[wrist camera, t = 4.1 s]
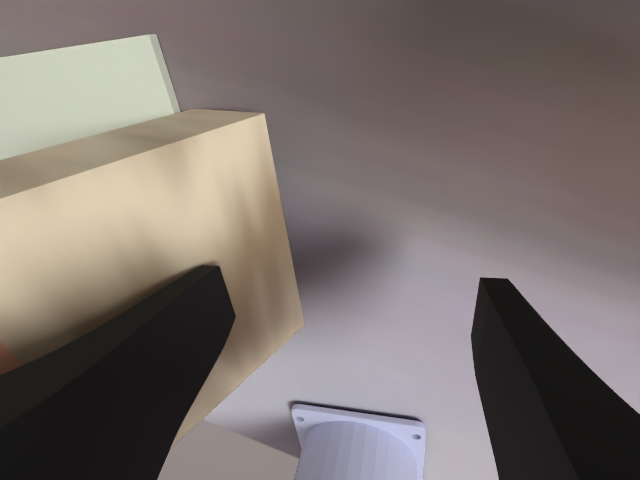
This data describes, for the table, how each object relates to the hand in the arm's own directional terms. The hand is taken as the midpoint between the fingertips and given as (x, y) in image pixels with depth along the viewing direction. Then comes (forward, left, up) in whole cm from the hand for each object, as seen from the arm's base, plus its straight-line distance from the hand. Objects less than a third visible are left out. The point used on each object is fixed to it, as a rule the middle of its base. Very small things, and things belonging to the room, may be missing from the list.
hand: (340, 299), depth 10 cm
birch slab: (0, +4, -4) cm, 6 cm away
